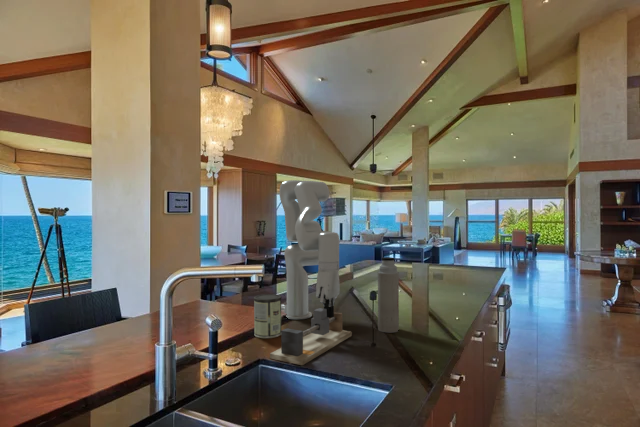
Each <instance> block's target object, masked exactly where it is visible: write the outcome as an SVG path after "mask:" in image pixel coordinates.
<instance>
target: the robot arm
mask: <svg viewBox="0 0 640 427" xmlns="http://www.w3.org/2000/svg"><path fill="white" fill-rule="evenodd" d="M329 197H330V188H329V187H328V185H327V183H326V182H323V181H316V180H298V179H297V180H296V179H294V180H292V179H291V180H285V181H283V182H282V183H281V184H280V185H279V198H280V199H279V200H280V203H281V206H282V208H283V212H284V220H285V221H284V222H285V234H286V238H287V240H288V241H289V242H297V243H296V244H291V245H288V246H287V247H286V248H285V250H284V253H283V254H284V261H285V268H286V304H281V311H284V313H286V314H287V315H286V317H287V318H288V319H287V318H286V319H287V320H297V321H298V320H306V319H309V318H310V319H311V317H312V312H311V311H309V274H308V273H307V271H306V270H305V268H304V267H305V266H309V267H310V266H318V271H317V276H316V284H315V286H316V289H315V297H316V299H319V302H320V303H321V304H322V306H323V309H327V318H332V317H334V312H335V309H334V308H335V307H334V306H335V301H336V299H337V298H338V295H340V289H341V288H340V273H339V271H340V235H339V234H338V232H334V231H328V230H322V227H321V225H320V223H319V222H318V221H317V220H316V219H318V218H319V217H321V214H322V212H323V208H322V206H321V202H322V203H323V202H326V201H327V200H328V199H329Z"/></svg>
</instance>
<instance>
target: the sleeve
mask: <svg viewBox="0 0 640 427" xmlns="http://www.w3.org/2000/svg"><path fill="white" fill-rule="evenodd" d="M318 324H320V328H318V329H316V330H314V331H312V332H310V333H313V334H319V335H325V334H327V333H329V318H328V317H327V309H324V308H321V307H319V308H315V309H314V310H313V317H312V318H310V328H312V327H314V326H316V325H318Z"/></svg>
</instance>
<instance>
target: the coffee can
mask: <svg viewBox="0 0 640 427" xmlns="http://www.w3.org/2000/svg"><path fill="white" fill-rule="evenodd" d="M282 298H283V297H282V295H280V294H275V293H269V294H268V293H267V294H264V293H263V294H258V295H255V296H254V297H253V301H254V302H253V303H254V304H253V308H254V309H253V313H254V314H253V317H254V318H253V319H254V328H253V330H254V336H255V337H256V338H260V339H274V338H277V337H280V336H281V331H282V310H281V305H282Z"/></svg>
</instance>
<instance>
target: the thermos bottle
mask: <svg viewBox="0 0 640 427" xmlns="http://www.w3.org/2000/svg"><path fill="white" fill-rule="evenodd" d="M399 277H400V274H399V272H398V267H397V266H396V265H395V258H394V257H387V256H386V257H385V256H384V257H381V265H379V271H378V272H377V330H378V331H379V332H381V333H390V334H391V333H397V332H399V331H398V330H400V329H399V328H400V327H399V326H400V325H399V324H400V323H399V321H400V320H399V319H400V318H399V317H400V316H399V314H400V313H399V311H400V310H399V307H400V305H399V304H400V303H399V302H400V300H399V299H400V298H399V297H400V296H399V293H400V292H399V289H400V287H399V284H400V282H399Z"/></svg>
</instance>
